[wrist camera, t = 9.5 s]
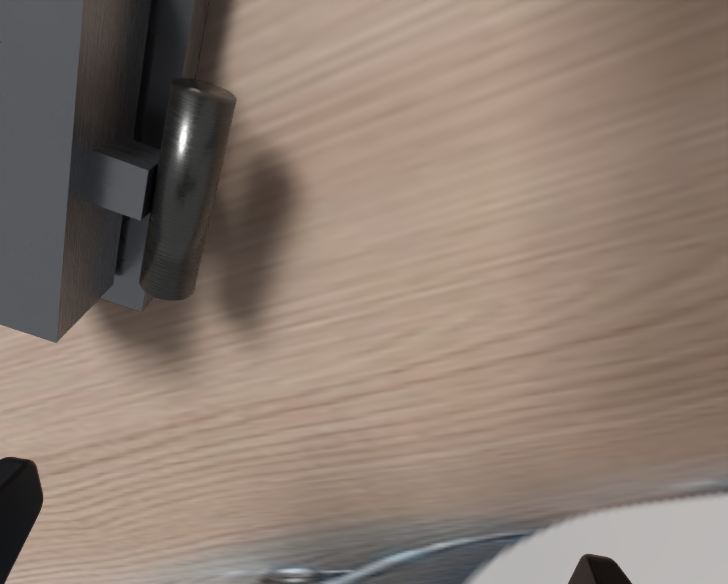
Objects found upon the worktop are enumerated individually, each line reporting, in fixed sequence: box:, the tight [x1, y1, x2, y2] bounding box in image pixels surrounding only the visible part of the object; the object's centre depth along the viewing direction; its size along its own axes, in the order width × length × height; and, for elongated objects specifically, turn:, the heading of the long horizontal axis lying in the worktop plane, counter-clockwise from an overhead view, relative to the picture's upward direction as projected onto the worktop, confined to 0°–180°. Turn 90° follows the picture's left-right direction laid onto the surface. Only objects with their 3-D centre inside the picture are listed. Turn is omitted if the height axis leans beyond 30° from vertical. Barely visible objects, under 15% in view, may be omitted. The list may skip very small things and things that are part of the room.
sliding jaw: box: [0, 0, 236, 343], centre depth 16 cm, size 6×10×4 cm, turn 161°
